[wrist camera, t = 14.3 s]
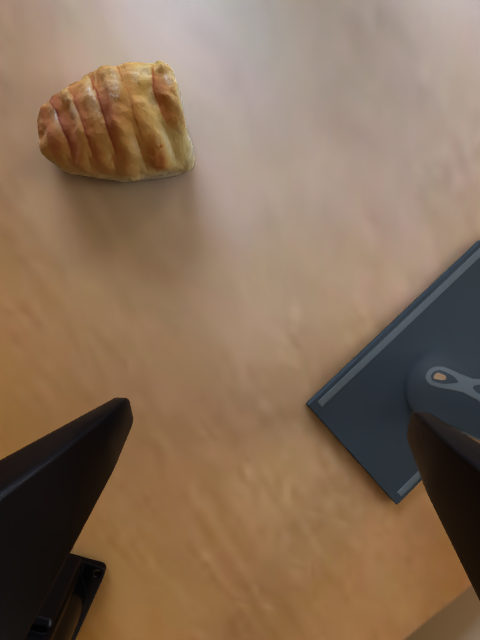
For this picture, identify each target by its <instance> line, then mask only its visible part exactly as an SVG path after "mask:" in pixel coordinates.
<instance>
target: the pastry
mask: <svg viewBox="0 0 480 640" xmlns="http://www.w3.org/2000/svg"><path fill="white" fill-rule="evenodd" d="M37 122H38V134H39V138H40V142H39V148H40V150H41V152H42V154H43V155H44V156H45V157H46V158H47V159H48V160H50V161H51V162H52V163H54V164H55V165H57V166H58V167H59V168H61V169H62V170H63V171H65V172H66V173H69V174H79V175H82V176H92V177H95V178H97V179H112V180H116V181H119V182H122V183H126V182H129V181H138V180H146V179H150V180H152V179H154V178H162V177H164V178H166V177H173V176H177V175H179V174H180V173H185V172H188V171H190V170H191V169H192V168H193V166H194V164H195V156H194V150H193V145H192V141H191V139H190V137H189V135H188V131H187V128H186V124H185V118H184V103H183V100H182V97H181V92H180V89H179V86H178V84H177V82H176V80H175V75H174V73H173V71H172V69H171V68H170V66H169V65H168V64H166V63H164V62H162V61H160V60H159V61H157V62H156V63H141V62H129V63H124V64H122V65H120V66H109V65H105V66H101V67H99V68H98V69H97V70H95V71H94V72H92V73H89V74H87V75H85V76H84V77H83V78H82V79H81V80H80V81H77V82H75V83H73V84H70V85H69V87H67V88H64V89H63V90H62V91H61V92H60V93H58V94H55V95H53V96H52V97H51V99H50V100H49V101H48V102H47V103H46V104H45V105H42V106H41V108H40V111H39V116H38V119H37Z"/></svg>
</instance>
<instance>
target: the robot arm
mask: <svg viewBox="0 0 480 640" xmlns="http://www.w3.org/2000/svg"><path fill="white" fill-rule="evenodd" d="M132 423H133V415H132V410H131V406H130V401H129V399H127V398H114V399H112V400H110V401H108V402H107V403H105V404H103V405H101V406H99V407H97V408H96V409H94V410H92V411H90V412H88V413H86V414H85V415H83V416H81V417H79V418H77V419H75V420H73V421H72V422H70V423H68V424H66V425H64V426H62V427H61V428H59V429H57V430H55V431H53V432H51V433H50V434H48V435H46V436H44V437H42V438H40V439H39V440H37V441H35V442H33V443H31V444H29V445H27V446H26V447H24V448H22V449H20V450H18V451H16V452H15V453H13V454H11V455H9V456H7V457H5V458H4V459H2V460H0V640H75V639H76V637H77V635H78V633H79V630H80V628H81V626H82V624H83V621H84V619H85V617H86V615H87V612H88V610H89V608H90V606H91V603H92V601H93V599H94V597H95V594H96V592H97V590H98V588H99V585H100V583H101V581H102V579H103V576H104V574H105V571H106V565H105V564H104V563H103V562H100V561H96V560H92V559H89V558H85V557H81V556H78V555H74V554H71V553H70V552H71V550H72V548H73V546H74V544H75V542H76V540H77V538H78V536H79V535H80V533H81V531H82V529H83V527H84V525H85V523H86V521H87V519H88V517H89V516H90V514H91V512H92V510H93V508H94V506H95V504H96V502H97V500H98V498H99V497H100V495H101V493H102V491H103V489H104V487H105V485H106V483H107V481H108V479H109V478H110V476H111V474H112V472H113V470H114V468H115V465H116V463H117V461H118V458H119V456H120V453H121V451H122V448H123V446H124V444H125V441H126V439H127V436H128V434H129V431H130V429H131V426H132ZM407 441H408V444H409V446H410V449H411V452H412V454H413V457H414V460H415V462H416V465H417V468H418V470H419V473H420V476H421V478H422V481H423V484H424V486H425V489H426V491H427V494H428V496H429V498H430V500H431V502H432V504H433V506H434V508H435V510H436V512H437V514H438V516H439V518H440V521H441V523H442V525H443V527H444V529H445V531H446V533H447V535H448V537H449V539H450V541H451V543H452V545H453V547H454V549H455V551H456V553H457V555H458V557H459V559H460V561H461V563H462V565H463V568H464V570H465V572H466V574H467V576H468V578H469V580H470V582H471V584H472V586H473V588H474V590H475V592H476V594H477V596H478V598H479V600H480V443H479V442H477V441H475V440H474V439H472V438H470V437H469V436H467V435H465V434H464V433H462V432H460V431H459V430H457V429H455V428H454V427H452V426H450V425H449V424H447V423H445V422H444V421H442V420H441V419H439V418H437V417H436V416H434V415H432V414H431V413H428V412H413V413H412V414H411V417H410V421H409V425H408V429H407ZM96 570H99V571H100V572H98V571H96Z"/></svg>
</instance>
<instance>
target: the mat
mask: <svg viewBox="0 0 480 640" xmlns="http://www.w3.org/2000/svg"><path fill="white" fill-rule="evenodd" d="M433 351H449V352H453V353H456V354H458V355H461V356H463V357H466V358H468V359H470V360H473V361H475V362H478V363H480V240H479V241H477V242H476V243H475V244H474V245H473V246H472V247H471V248H470V249H469V250H468V251H467V252H466V253H465V254H464V255H463V256H461V257H460V258H459V259H458V260H457V261H456V262H455V263H454V264H453V265H452V266H451V267H450V268H449V269H448V270H447V271H446V272H445V273H443V274H442V275H441V276H440V277H439V278H438V279H437V280H436V281H435V282H434V283H433V284H432V285H431V286H430V287H429V288H428V289H427V290H425V291H424V292H423V293H422V294H421V295H420V296H419V297H418V298H417V299H416V300H415V301H414V302H413V303H412V304H411V305H410V306H409V307H407V308H406V309H405V310H404V311H403V312H402V313H401V314H400V315H399V316H398V317H397V318H396V319H395V320H394V321H393V322H392V323H391V324H389V325H388V326H387V327H386V328H385V329H384V330H383V331H382V332H381V333H380V334H379V335H378V336H377V337H376V338H375V339H374V340H373V341H371V342H370V343H369V344H368V345H367V346H366V347H365V348H364V349H363V350H362V351H361V352H360V353H359V354H358V355H357V356H356V357H355V358H353V359H352V360H351V361H350V362H349V363H348V364H347V365H346V366H345V367H344V368H343V369H342V370H341V371H340V372H339V373H338V374H337V375H335V376H334V377H333V378H332V379H331V380H330V381H329V382H328V383H327V384H326V385H325V386H324V387H323V388H322V389H321V390H320V391H319V392H317V393H316V394H315V395H314V396H313V397H312V398H311V399H310V400H309V401H308V402H307V403H306V404H307V405H308V406H309V407H310V408H311V410H312V411H313V412H314V413H315V414H316V415H317V416H318V417H319V419H320V420H321V421H322V422H323V423H324V424H325V425H326V426H327V427H328V429H329V430H330V431H331V432H332V433H333V434H334V435H335V436H336V438H337V439H338V440H339V441H340V442H341V443H342V444H343V445H344V447H345V448H346V449H347V450H348V451H349V452H350V453H351V454H352V456H353V457H354V458H355V459H356V460H357V461H358V462H359V463H360V464H361V466H362V467H363V468H364V469H365V470H366V471H367V472H368V473H369V475H370V476H371V477H372V478H373V479H374V480H375V481H376V482H377V484H378V485H379V486H380V487H381V488H382V489H383V490H384V491H385V493H386V494H387V495H388V496H389V497H390V498H391V499H392V500H393V501H394V502H395V504H398V503H399V502H400V501H401V500H402V499H403V498H404V497H405V496H406V495H407V494H408V493H409V492H410V491H411V490H412V489H413V488H414V487H415V486H416V485H417V484H418V483H419V482H420V481H421V480H422V478H421V476H420V473H419V470H418V468H417V465H416V462H415V460H414V457H413V454H412V452H411V449H410V446H409V444H408V441H407V429H408V425H409V421H410V417H411V414H412V413H413V411H412V410H411V409H410V407H409V405H408V403H407V400H406V395H405V384H406V379H407V376H408V373H409V371H410V369H411V368H412V366H413V365H414V364H415V362H416V361H417V360H418V359H420V358H421V357H422V356H424V355H425V354H427V353H430V352H433Z"/></svg>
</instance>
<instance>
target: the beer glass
mask: <svg viewBox="0 0 480 640" xmlns="http://www.w3.org/2000/svg"><path fill="white" fill-rule="evenodd" d="M405 395H406V400H407V403H408V405H409V407H410V409H411V410H412V411H413V412H428V413H431V414H432V415H434V416H436V417H437V418H439V419H441V420H442V421H444V422H445V423H447V424H449V425H450V426H452V427H454V428H455V429H457V430H459V431H460V432H462V433H464V434H465V435H467V436H469V437H470V438H472V439H474V440H475V441H477V442H479V443H480V363H478V362H475V361H473V360H470V359H468V358H466V357H463V356H461V355H458V354H456V353H453V352H449V351H433V352H430V353H427V354H425V355H424V356H422V357H421V358H420V359H418V360H417V361H416V362H415V364H414V365H413V366H412V368H411V369H410V371H409V373H408V376H407V379H406V384H405Z"/></svg>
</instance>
